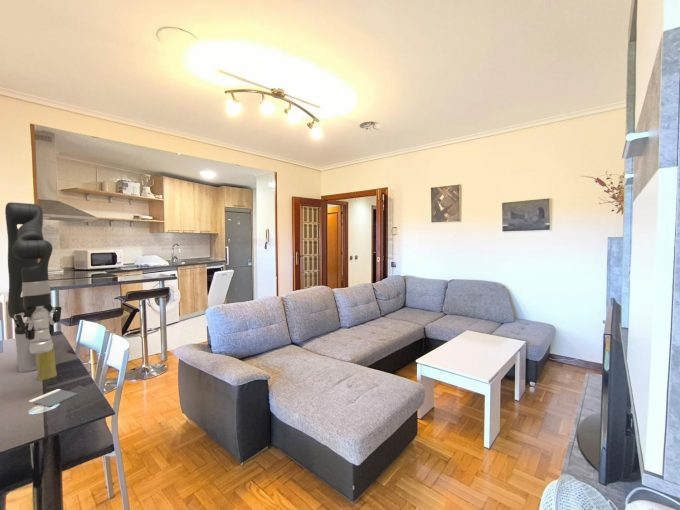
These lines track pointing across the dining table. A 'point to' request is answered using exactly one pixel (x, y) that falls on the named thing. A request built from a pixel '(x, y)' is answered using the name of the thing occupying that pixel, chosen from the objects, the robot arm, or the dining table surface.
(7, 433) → the dining table surface
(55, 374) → the vase
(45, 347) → the plastic bottle
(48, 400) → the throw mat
